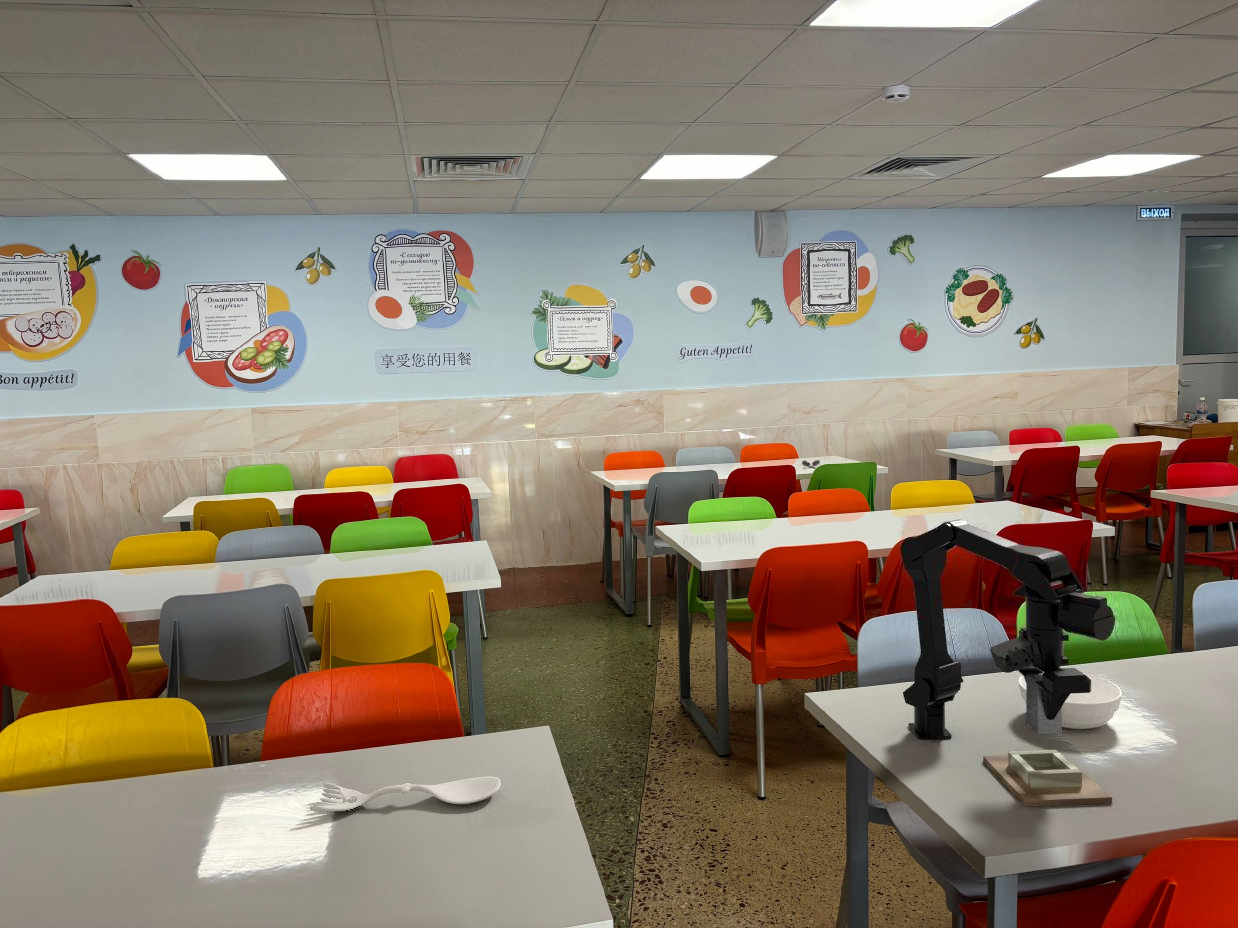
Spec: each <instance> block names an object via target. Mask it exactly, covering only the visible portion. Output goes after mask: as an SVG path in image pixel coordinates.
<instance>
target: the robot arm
mask: <svg viewBox="0 0 1238 928" xmlns="http://www.w3.org/2000/svg"><path fill="white" fill-rule="evenodd" d="M956 547H959V548H960V549H963V550H965V551H968V552H970V553H972V554H974V555H977V556H979V557H981V558H983V559H986V560H988V561H991V562H993V563H994V564H996V565H999V566H1001V567H1004V569H1006V570H1008V571H1009V573H1010V574H1011V576H1012V577H1013V578H1014V579H1016V580H1017V581H1019V582H1020V583H1022V585H1021V586H1020V587H1018V588H1017V589H1016V590H1014V591H1013V593H1012V594H1013V595H1014V596H1017V597H1021V598H1025V627H1020V629H1019V630H1018V637H1016V638H1012V639H1008V640H1006V641H1003V642H1000V643H998V644H996V645H992V646H991V647H990V648H989V652H990V654H991V656H992V660H993V662H994V664H995V667H996V668H999V669H1000V670H1001V671H1002V672H1003V673H1006V674H1009V673H1013V672H1015V671H1017V672H1018V673H1020V674H1021V676H1022V675H1023V676H1024V678H1025V681H1026V674H1037V673H1043V674H1042V681H1035V683H1036V684H1037V685H1038V686H1039V687H1040V688H1041V689H1042V690H1043V697H1044V705H1045V712H1046V718H1047V719H1048V720H1053V719H1055V717H1056V715H1057V714H1058V712H1059V710H1060V709H1061V707H1062V706H1063V704H1064V702H1065V701H1066V699H1067V698H1068V697H1069V695H1070V694H1073V693H1090V692H1091V679H1089V678H1088V677H1087V676H1086V675H1085V674H1086V673H1085V674H1083V672H1081V670H1079V669H1077V668H1075V667H1061V666H1064V665H1065V666H1067V665H1070V663H1069V661H1070V659H1069V658H1068V657H1067V656H1065V655H1064V642H1069V641H1070V634H1073V635H1077V636H1081V637H1086V638H1089V639H1093V640H1096V641H1097V640H1098V641H1102V642H1104V641H1106V640H1108V639H1109V637H1111V635H1112V633H1113V631H1114V628H1115V625H1116V616H1115V615H1114V612H1113V609H1112V607H1111V606H1109V604H1108V599H1107V597H1106V596H1105V597H1104V596H1099V595H1095V596H1094V595H1090V594H1085V592H1086V589H1085V588H1084V586H1083V585H1082V583H1081V581H1080V580H1079V578H1078V577H1077V576H1076V573H1075V572H1074V571H1073V570H1072V567H1071V566H1070V562H1069V561H1068V558H1067V556H1066V555H1065V554H1064V553H1062V552H1061V551H1058V550H1054V549H1051V548H1045V547H1040V546H1030V545H1022V544H1020V543H1019V544H1018V543H1017V542H1014V541H1011V540H1009V539H1006V538H1005V537H1002V536H999V535H997V534H994V533H993V532H990V531H987V530H984V529H982V528H979V527H977V526H974V525H971V524H970V523H968V522H967V521H965V520H963V519H955V520H950V521H944V522H942V523H941V524H939V525H938V526H936V527H935V528H932V529H930V530H928V531H926V532H923V533H921V534H919V535H913V536H907V537H906V538H905V539H904V540H903V541H902V542H901V543H900V547H899V548H900V550H899V551H900V555H901V561H902V563H903V567H904V570H905V571H906V573H907V574H908V576H909V577H910V578H911V580H912V583H913V590H914V601H915V602H914V603H915V608H916V610H915V611H916V619H917V630H918V639H919V640H918V641H919V649H920V654H919V657H918V659H917V662H916V664H915V667H914V672H913V673H914V675H913V676H914V677H913V678H914V679H913V681H914V682H913V684H911V685H910V686H909V687H908V688H906V689H905V690H904V691H903V692H902V694H903V695H902V696H903V699H904V702H905V704H907V705H909V706H912V707H913V713H914V714H913V722H909V723H907V724H908V725H907V726H908V728H909V729H910V730H911V731H912V732H913V734H914V735H915V736H916V738H918V739H919V740H928V739H929V740H930V739H948V738H949V739H951V738H952V737H953V735H952V734H951V732H950V731H949V730H948V729H947V728H946V704H945V703H948V702H953V701H954V699H955V696H956V695H957V693H959V691H960V690H961V688H962V683H964V679H963V676H962V665H961V662H960V661H954V659H953V658H952V656H951V655H950V653H949V650H948V644H947V643H948V642H947V633H946V624H945V623H946V622H945V615H944V605H943V604H944V603H943V594H942V587H941V586H942V585H941V578H942V575H943V573H944V570H945V568H946V566H947V552H949V551H950V550H952V549H954V548H956ZM1061 584H1062V586H1057V585H1061ZM1054 586H1057V587H1054ZM1068 633H1069V634H1068Z"/></svg>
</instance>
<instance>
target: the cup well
mask: <svg viewBox="0 0 1238 928" xmlns="http://www.w3.org/2000/svg"><path fill="white" fill-rule="evenodd" d="M982 758H983V759H982V761H983V763H984V764H985V765H986V767H988V768H989V769H990V770H991V771H992V772H993V773H994V774H995V776H996V777H997V778H998V779H999V780H1000V781H1001V782H1002V783H1003V784H1004V785H1005V787H1006V788H1008V790H1010V792H1011V793H1012V794H1013V795H1014V796H1015V797H1016V798H1017V800H1019V801H1020V802H1021V803H1022V805H1023V806H1024V807H1026V808H1027V807H1045V806H1046V807H1048V806H1049V807H1051V806H1052V807H1053V806H1071V805H1072V806H1075V805H1076V806H1077V805H1097V804H1113V796H1112V795H1110V794H1109V793H1108V792H1107V791H1105V789H1103V788H1102V787H1101V786H1100V785H1099V784H1097V783H1096V782H1095V781H1094V780H1093V779H1091V778H1090V777H1089V775H1087V774H1086V773H1085V772H1083V771H1082V770H1081V769H1080V768H1079V767H1078V766H1077V765H1075V764H1074V763H1073V762H1072V761H1071V760H1069V758H1067V757H1066V756H1065V755H1064V754H1062V753H1061V752H1059V751H1058V750H1057V749H1043V750H1041V749H1040V750H1018V751H1017V750H1015V751H1008V753H1007V754H1005V755H1004V754H1003V755H1002V754H1001V755H983V756H982Z"/></svg>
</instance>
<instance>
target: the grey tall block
mask: <svg viewBox="0 0 1238 928" xmlns="http://www.w3.org/2000/svg"><path fill="white" fill-rule="evenodd" d="M1042 674H1043V673H1037V674H1026V703H1025V706H1026V707H1025V709H1026V712H1025V714H1026V715H1025V716H1026V718H1025V719H1026V722H1025V724H1026V725H1027V726H1028V727H1029V728H1030V729H1031V730H1032V731H1034V732H1035V733H1036V734H1038V735H1039V734H1042V735H1043V734H1046V735H1047V734H1062V730H1063V729H1062V728H1063V727H1062V707H1061V709H1060V710H1059V712H1058V714H1057V715H1056V717H1055V719H1053V720H1048V719H1047V718H1046V712H1045V705H1044V697H1043V690H1042V689H1041V688H1040V687H1039V686H1038V685H1037V684H1036V683H1035V681H1042Z"/></svg>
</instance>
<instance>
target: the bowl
mask: <svg viewBox="0 0 1238 928" xmlns="http://www.w3.org/2000/svg"><path fill="white" fill-rule="evenodd" d="M1082 673H1083V672H1082ZM1083 674H1085V675H1086V676H1087V677H1088V678H1089V679H1091V692H1090V693H1073V694H1070V695H1069V697H1068V698H1067V699H1066V701H1065V702H1064V704H1063V706H1062V728H1065V729H1072V730H1074V729H1075V730H1084V729H1085V730H1086V729H1095V728H1099V727H1100V728H1101V727H1102V726H1104V725H1105V724H1107V723H1108V722H1109V721H1110V720H1112V718H1113V717H1114V715H1115V713H1116V712H1117V711H1118V710H1119V708H1120V704H1121V700H1122V697H1123V692H1122V690H1121V688H1120V686H1118V685H1116V684H1115V683H1114V682H1112V681H1109V680H1107V679H1105V678H1102V677H1099V676H1096V675H1092V674H1089V673H1083ZM1017 683H1018V688H1019V692H1020V696H1021V698H1022V699H1023V700H1024V702H1025V704H1026V681H1025V678H1024V676H1023V675H1022V674H1021V675H1020V677H1019V678H1018V681H1017Z"/></svg>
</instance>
